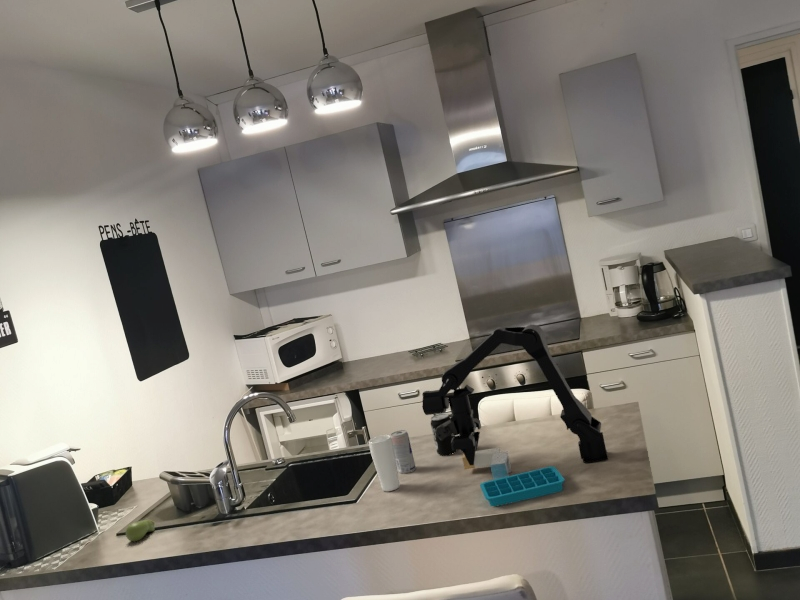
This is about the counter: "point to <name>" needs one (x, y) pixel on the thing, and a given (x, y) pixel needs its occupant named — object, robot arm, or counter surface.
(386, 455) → the drinking glass
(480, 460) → the tan-tipped white bar
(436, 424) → the beverage can
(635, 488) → the counter surface
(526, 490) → the ice cube tray
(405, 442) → the energy drink
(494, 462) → the gray rectangular block
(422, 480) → the counter surface
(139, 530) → the pear
